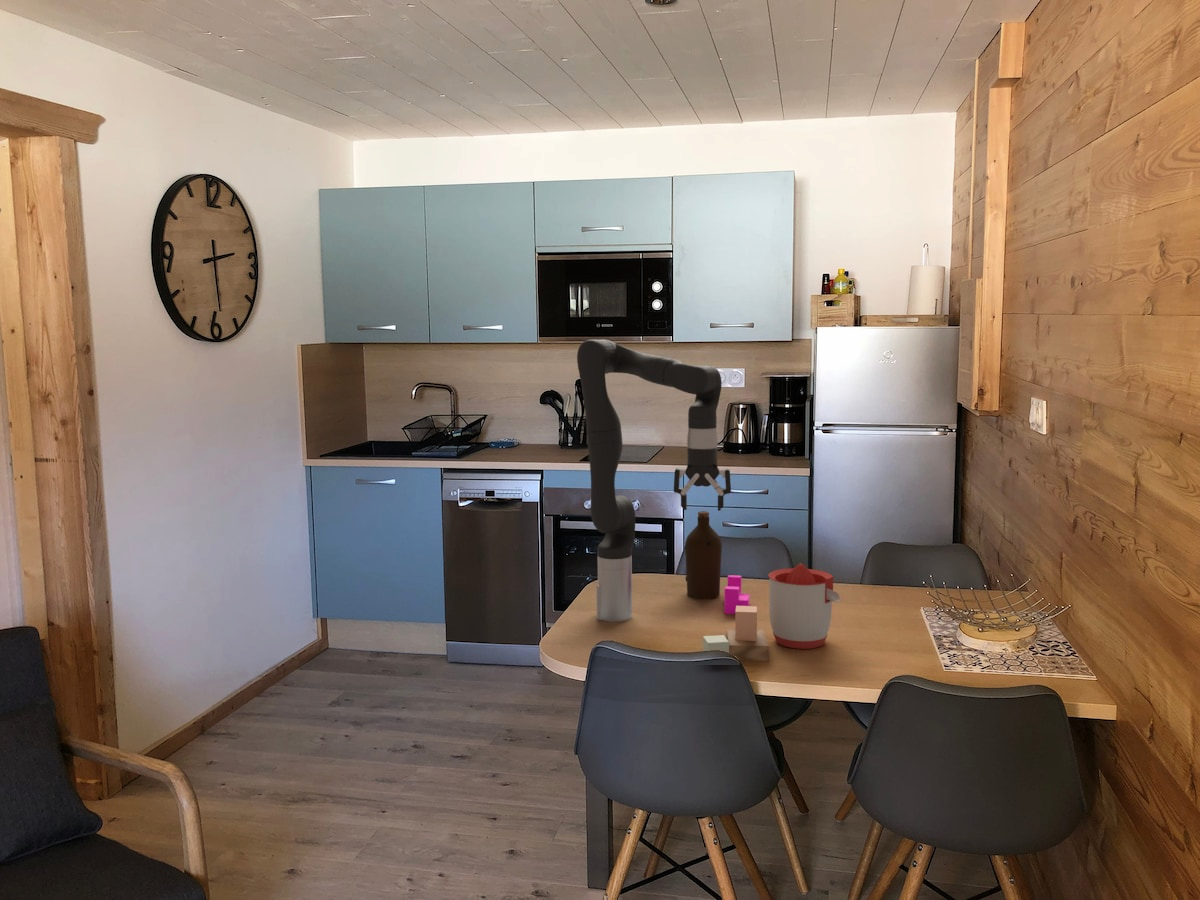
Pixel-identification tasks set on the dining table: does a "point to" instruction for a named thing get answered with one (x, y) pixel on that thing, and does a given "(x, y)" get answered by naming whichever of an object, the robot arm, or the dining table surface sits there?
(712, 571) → the olive oil
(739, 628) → the clay block
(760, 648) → the walnut base block
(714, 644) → the sage cube
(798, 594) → the citrus juicer
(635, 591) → the dining table surface
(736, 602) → the toy block
